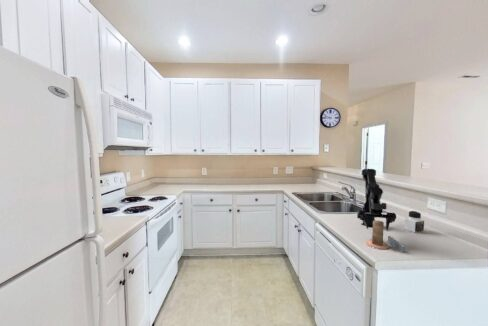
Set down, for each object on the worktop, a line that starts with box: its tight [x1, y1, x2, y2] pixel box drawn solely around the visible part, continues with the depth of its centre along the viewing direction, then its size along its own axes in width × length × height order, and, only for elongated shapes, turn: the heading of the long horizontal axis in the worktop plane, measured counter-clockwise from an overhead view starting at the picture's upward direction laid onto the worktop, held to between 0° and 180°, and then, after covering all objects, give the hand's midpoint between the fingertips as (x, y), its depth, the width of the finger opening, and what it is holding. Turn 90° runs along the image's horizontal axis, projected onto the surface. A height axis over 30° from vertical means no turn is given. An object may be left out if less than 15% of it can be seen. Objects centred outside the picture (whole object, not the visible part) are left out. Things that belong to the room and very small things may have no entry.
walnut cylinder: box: [371, 219, 385, 246], centre depth 124 cm, size 5×5×12 cm
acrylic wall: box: [387, 235, 406, 253], centre depth 122 cm, size 14×1×3 cm, turn 174°
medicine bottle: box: [404, 210, 425, 234], centre depth 146 cm, size 7×7×12 cm
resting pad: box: [365, 239, 390, 250], centre depth 124 cm, size 11×11×1 cm
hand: (377, 229), depth 125 cm, fingers open, 9 cm apart
